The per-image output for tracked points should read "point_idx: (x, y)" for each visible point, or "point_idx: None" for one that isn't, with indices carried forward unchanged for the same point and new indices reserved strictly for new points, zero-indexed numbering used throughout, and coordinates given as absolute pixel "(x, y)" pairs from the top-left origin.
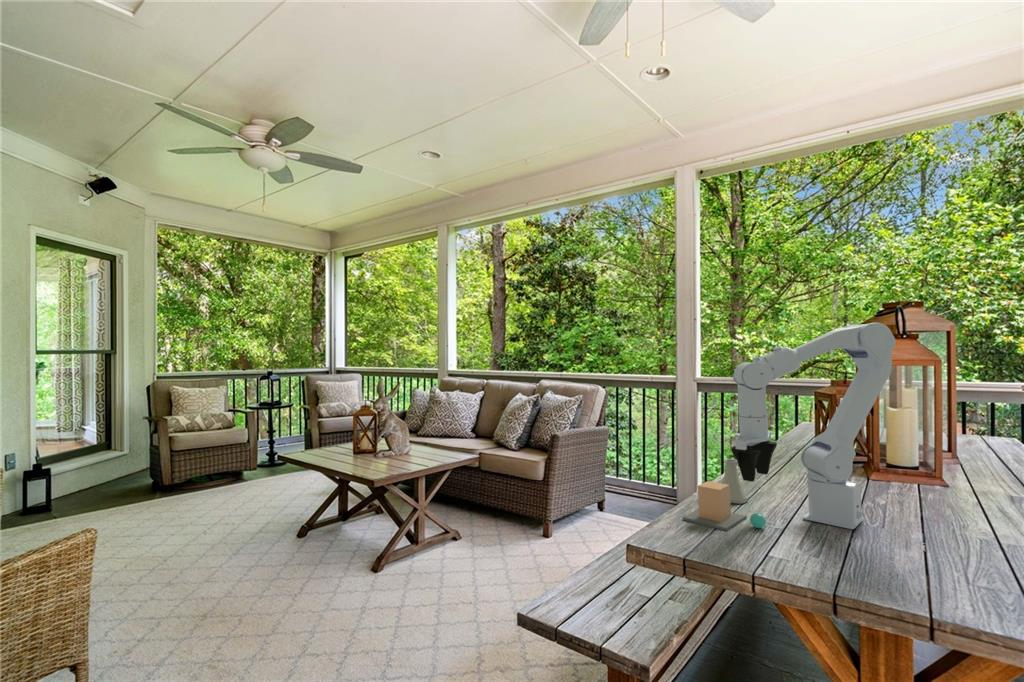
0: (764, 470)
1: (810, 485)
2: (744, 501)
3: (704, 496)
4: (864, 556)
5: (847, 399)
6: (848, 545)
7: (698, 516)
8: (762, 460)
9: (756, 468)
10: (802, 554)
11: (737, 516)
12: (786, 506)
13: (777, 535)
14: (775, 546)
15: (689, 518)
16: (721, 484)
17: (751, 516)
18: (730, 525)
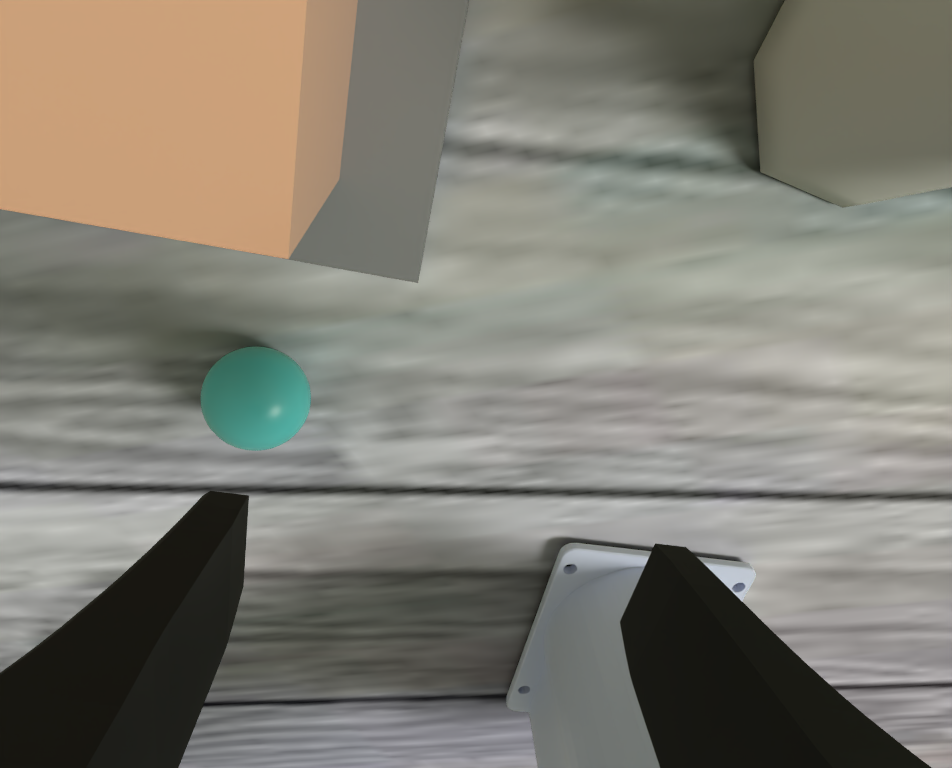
0: (642, 642)
1: (642, 765)
2: (809, 188)
3: None
4: (204, 743)
5: None
6: (295, 701)
7: None
8: (706, 752)
9: (682, 579)
10: (27, 599)
11: (363, 226)
12: (799, 439)
13: (212, 479)
14: (26, 498)
15: None
16: (240, 154)
17: (223, 379)
18: None
